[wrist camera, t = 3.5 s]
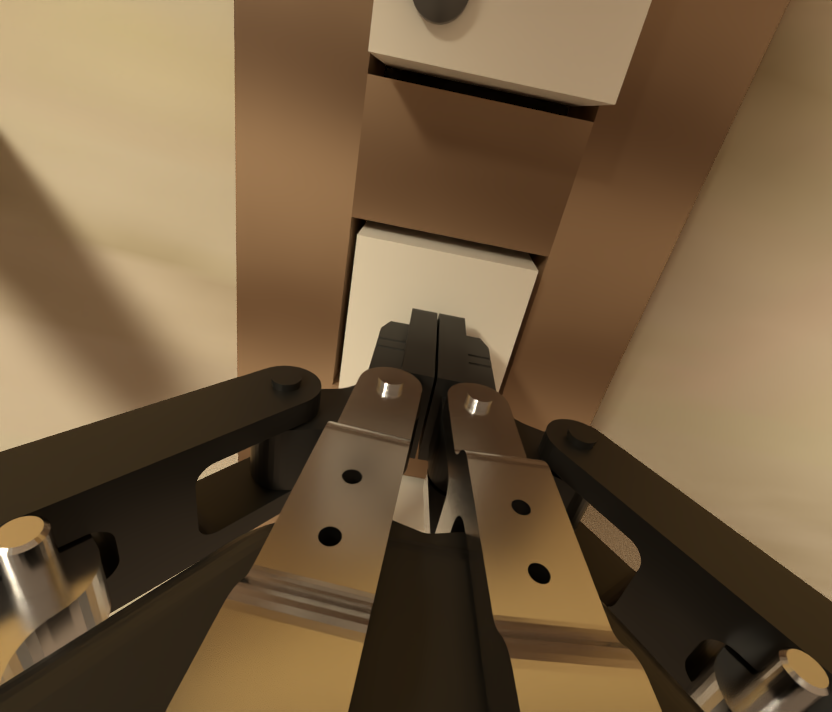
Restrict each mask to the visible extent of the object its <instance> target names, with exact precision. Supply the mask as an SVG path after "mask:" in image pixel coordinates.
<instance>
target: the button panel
mask: <svg viewBox="0 0 832 712" xmlns="http://www.w3.org/2000/svg"><path fill="white" fill-rule="evenodd" d="M789 1H790V0H652V1H651V4H650V7H649V10H648V13H647V16H646V18H645V21H644V24H643V27H642V30H641V33H640V35H639V38H638V41H637V44H636V47H635V50H634V53H633V55H632V58H631V61H630V64H629V67H628V70H627V73H626V75H625V78H624V81H623V84H622V87H621V90H620V92H619V95H618V98H617V101H616V104H615V105H597V106H570V107H569V111H568V114H567V116H562V115H557V114H553V113H548V112H543V111H539V110H534V109H529V108H525V107H520V106H516V105H511V104H506V103H502V102H497V101H492V100H488V99H483V98H478V97H474V96H469V95H464V94H460V93H455V92H450V91H446V90H441V89H436V88H432V87H427V86H422V85H418V84H413V83H408V82H404V81H399V80H394V79H390V78H385V77H384V72H385V64H384V63H383V62H382V61H380V60H379V59H378V58H376V57H375V56H374V55H372V54H371V53H370V52H368V47H369V38H370V29H371V20H372V11H373V2H374V0H234V39H235V150H236V260H237V371H238V377H240V376H243V375H247V374H250V373H253V372H256V371H259V370H262V369H266V368H269V367H274V366H295V367H300V368H303V369H306V370H308V371H310V372H312V373H314V374H315V375H316V376H317V377H318V378H319V379H320V381H321V386H322V387H321V389H339V380H340V372H341V364H342V355H343V347H344V339H345V331H346V323H347V314H348V306H349V298H350V290H351V281H352V273H353V265H354V257H355V249H356V240H357V234H358V233H359V231H360V230H361V229H362V227H363V226H364V225H365V220H370V221H375V222H380V223H385V224H390V225H394V226H399V227H404V228H409V229H414V230H419V231H424V232H429V233H434V234H439V235H444V236H449V237H453V238H458V239H463V240H468V241H473V242H478V243H483V244H488V245H493V246H498V247H503V248H508V249H512V250H517V251H522V252H527V253H528V254H529V255H530V257H531V259H532V261H533V262H534V264H535V266H536V268H537V269H538V274H537V277H536V280H535V283H534V286H533V290H532V293H531V296H530V299H529V302H528V305H527V308H526V311H525V314H524V317H523V320H522V323H521V326H520V329H519V332H518V335H517V338H516V341H515V344H514V347H513V350H512V353H511V356H510V359H509V362H508V365H507V368H506V371H505V374H504V377H503V380H502V383H501V386H500V389H499V393H500V394H501V395H502V396H503V397H504V398H505V399H506V400H507V401H508V403H509V405H510V408H511V411H512V414H513V417H514V419H516V420H518V421H520V422H522V423H524V424H526V425H528V426H531V427H534V428H536V429H539V430H541V431H544V432H545V430H546V427H547V425H548V424H549V423H550V422H551V421H553V420H557V419H570V420H575V421H579V422H581V423H584V424H586V425H589V426H590V424H591V422H592V420H593V418H594V416H595V414H596V411H597V409H598V407H599V405H600V403H601V401H602V399H603V397H604V394H605V392H606V390H607V388H608V386H609V384H610V382H611V380H612V377H613V375H614V373H615V371H616V369H617V367H618V365H619V362H620V360H621V358H622V356H623V354H624V352H625V350H626V348H627V345H628V343H629V341H630V339H631V337H632V335H633V333H634V331H635V328H636V326H637V324H638V322H639V320H640V318H641V316H642V314H643V311H644V309H645V307H646V305H647V303H648V301H649V299H650V297H651V294H652V292H653V290H654V288H655V286H656V284H657V282H658V280H659V277H660V275H661V273H662V271H663V269H664V267H665V265H666V263H667V260H668V258H669V256H670V254H671V252H672V250H673V248H674V246H675V243H676V241H677V239H678V237H679V235H680V233H681V231H682V229H683V226H684V224H685V222H686V220H687V218H688V216H689V214H690V211H691V209H692V207H693V205H694V203H695V201H696V199H697V197H698V194H699V192H700V190H701V188H702V186H703V184H704V182H705V180H706V177H707V175H708V173H709V171H710V169H711V167H712V165H713V163H714V160H715V158H716V156H717V154H718V152H719V150H720V148H721V146H722V143H723V141H724V139H725V137H726V135H727V133H728V131H729V129H730V126H731V124H732V122H733V120H734V118H735V116H736V114H737V112H738V109H739V107H740V105H741V103H742V101H743V99H744V97H745V95H746V92H747V90H748V88H749V86H750V84H751V82H752V80H753V78H754V75H755V73H756V71H757V69H758V67H759V65H760V63H761V61H762V58H763V56H764V54H765V52H766V50H767V48H768V46H769V43H770V41H771V39H772V37H773V35H774V33H775V31H776V29H777V26H778V24H779V22H780V20H781V18H782V16H783V14H784V12H785V9H786V7H787V5H788V3H789ZM418 449H419V444H418V448H417V452H416V456H415V459H413V458H409V462H408V467H407V470H406V472H405V473H404V474H403V475H405V476H411V477H416V478H422V479H425V477H426V473H427V469H428V461H425V460H420V459H418ZM248 457H250V447H249V448H247V449H245V450H242V451H240V452H238V462H240V461H242V460H244V459H246V458H248ZM278 516H279V514H278V515H277V516H275V517H273V518H272V519H270V520H268V521H267V522H265V523H263V524H261V525H260V526H258V527H256V528H255V529H257V528H259V527H262V526H265V525H268V524H272V523H275V522H276V520H277V518H278ZM253 530H254V529H253ZM251 531H252V530H251ZM249 532H250V531H249Z"/></svg>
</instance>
